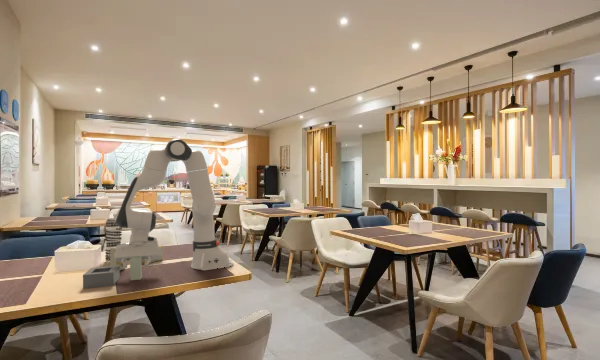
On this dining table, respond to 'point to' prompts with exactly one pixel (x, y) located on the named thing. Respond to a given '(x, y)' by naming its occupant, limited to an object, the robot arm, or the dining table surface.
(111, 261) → the skincare box
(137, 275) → the sage post
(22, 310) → the dining table surface
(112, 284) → the block
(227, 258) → the robot arm
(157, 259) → the candy box
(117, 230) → the decorative candle
